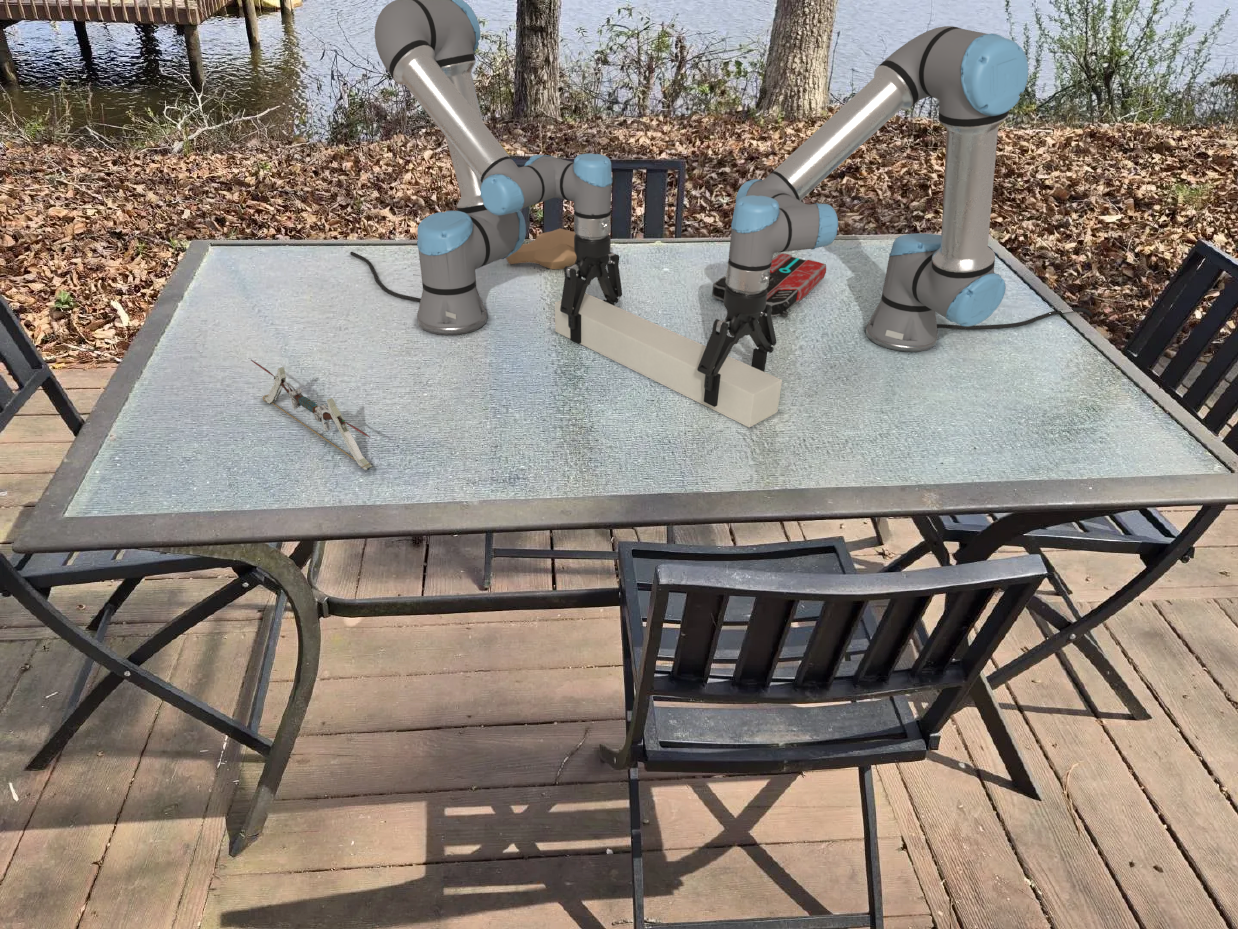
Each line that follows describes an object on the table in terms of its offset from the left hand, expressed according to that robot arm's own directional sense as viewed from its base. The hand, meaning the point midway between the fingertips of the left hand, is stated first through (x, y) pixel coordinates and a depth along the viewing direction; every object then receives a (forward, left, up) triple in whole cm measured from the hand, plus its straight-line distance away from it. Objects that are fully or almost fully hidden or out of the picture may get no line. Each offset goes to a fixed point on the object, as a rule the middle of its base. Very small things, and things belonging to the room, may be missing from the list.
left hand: (591, 334), depth 192 cm
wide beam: (+20, 0, 0) cm, 20 cm away
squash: (-40, +20, 0) cm, 44 cm away
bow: (-4, -64, 0) cm, 64 cm away
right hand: (+40, 0, +2) cm, 40 cm away
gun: (+10, +51, 0) cm, 52 cm away
